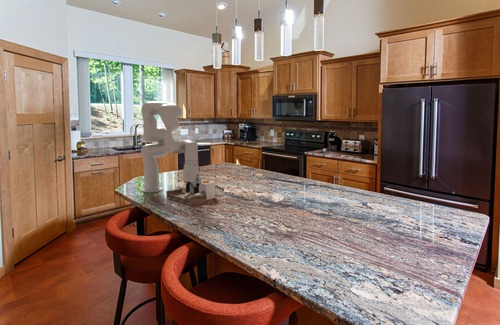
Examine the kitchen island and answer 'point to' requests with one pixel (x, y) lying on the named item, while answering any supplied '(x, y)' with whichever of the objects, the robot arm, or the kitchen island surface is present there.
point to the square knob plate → (191, 192)
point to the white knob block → (207, 189)
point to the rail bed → (179, 197)
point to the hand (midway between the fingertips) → (192, 192)
